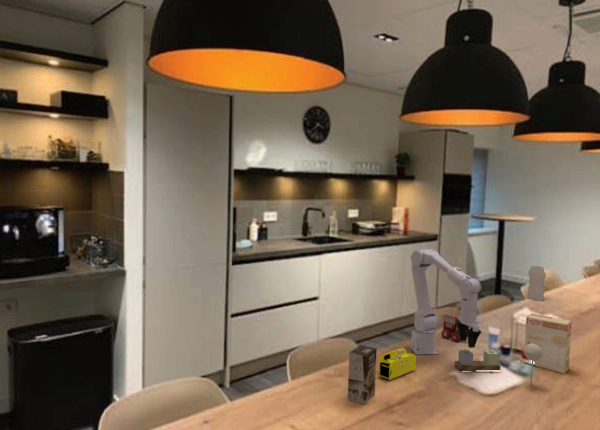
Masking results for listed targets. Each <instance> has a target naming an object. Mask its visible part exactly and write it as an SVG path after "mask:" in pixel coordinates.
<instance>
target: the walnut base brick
mask: <svg viewBox="0 0 600 430" xmlns="http://www.w3.org/2000/svg"><path fill="white" fill-rule="evenodd" d="M454 368H455V369H456V370H457V371H458V372H459V371H460V372H459V373H463V372H462V371H476V370H500V371H501V365H500V364H499V363H498V365H487V364H486V363H485V362H484V361H483V360H473V365H462V364H461V363H460V362H459V361H458V360H454Z"/></svg>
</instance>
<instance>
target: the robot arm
mask: <svg viewBox="0 0 600 430" xmlns="http://www.w3.org/2000/svg"><path fill="white" fill-rule="evenodd" d="M410 261H411V275H412V280H413V286H414V291H415V299H416V303H417V309H416V311H415V312H414V314H413V315H414V321H413V325H414V328H415V330H412V332H411V337H410V338H411V339H410V341H411V342H410V344H411V345H410V349H411V350H412V352H414V355H438V354H439V353H438V352H437V351H436V350H435V344H436V343H435V342H436V331H437V329H438V328H439V326H440V319H439V317H438V315H437V311H436V310H435V309H434V308H432V304H431V298H430V293H429V287H428V282H427V275H426V270H427V269H428V268H430V267H431V266H432V265H434V266H435V267H437V268H438V269H439V270H441V271H442V272H444V273H445V274H446V276H447V278H448V280H450V281H451V282H452V283H453V284H455V285H456V286H457V287H458V290H459V292H460V297H461V308H460V309H461V310H460V315H459V314H458V316H457V319H458V320H459V322H456V325H457V327H458V330H459V335H460V340H459V341H461V342H465V341H467V346H468V348H471V349H472V348H473V349H474V348H475V347H476V344H477V341H478V338H479V337H480V336H481V334H482V330H480V325H479V324H480V320H478V319H477V316H478V315H477V313H478V297H479V296H478V294H479V292H481V290H482V284H481V282H480V280H479V279H478V278H476V277H471V276H470V275H469V274H467V273H465V272H464V271H463V270H462V268H461V267H457V266H454V267H453V266H452V265H451V264H450V263H448V262H447V261H446V260H445V259H444V258H443V257H442V256H441V255H440V253H439V252H438V251H436V250H435V249H434V248H426V249H415V250H414V251H412V253H411V255H410Z"/></svg>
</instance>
